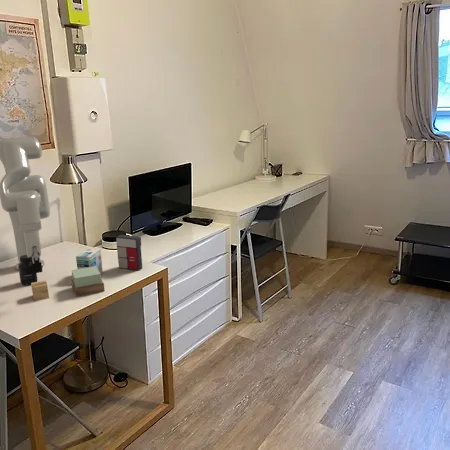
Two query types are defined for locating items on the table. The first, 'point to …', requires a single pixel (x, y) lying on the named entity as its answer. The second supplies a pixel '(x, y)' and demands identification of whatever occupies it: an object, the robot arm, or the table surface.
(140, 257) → the grey red box
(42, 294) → the oak cube
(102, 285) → the walnut block
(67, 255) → the table surface
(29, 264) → the supplement bottle
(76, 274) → the sage block
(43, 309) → the table surface
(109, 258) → the table surface
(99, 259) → the light bulb box
